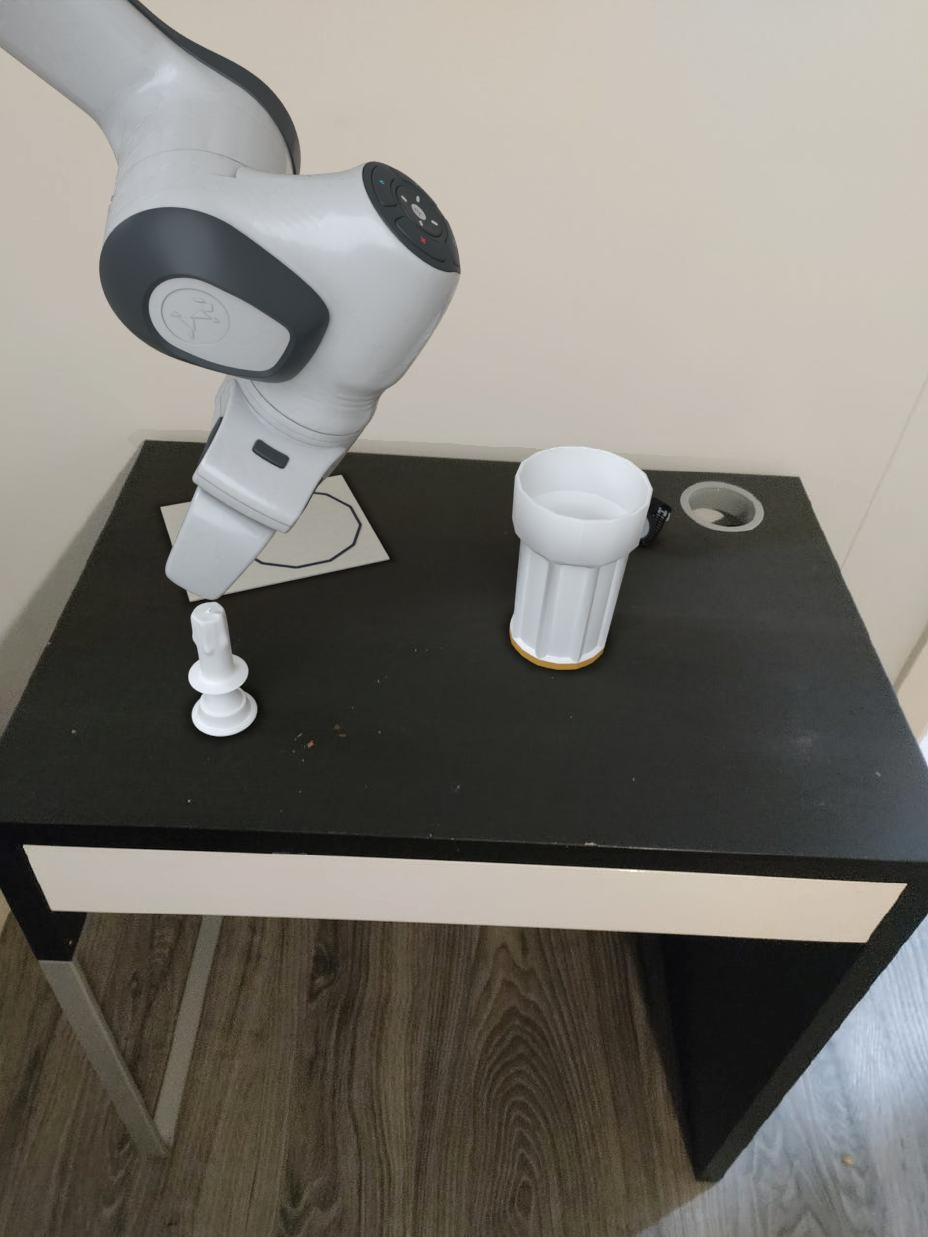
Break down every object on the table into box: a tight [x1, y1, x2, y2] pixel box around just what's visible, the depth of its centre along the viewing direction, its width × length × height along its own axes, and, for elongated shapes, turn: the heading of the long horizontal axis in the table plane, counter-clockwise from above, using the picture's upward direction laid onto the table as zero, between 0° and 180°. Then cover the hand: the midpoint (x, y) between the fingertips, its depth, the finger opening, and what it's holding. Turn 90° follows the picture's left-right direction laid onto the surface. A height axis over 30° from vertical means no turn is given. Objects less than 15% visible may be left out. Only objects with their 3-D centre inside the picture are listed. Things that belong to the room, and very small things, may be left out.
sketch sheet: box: [160, 474, 390, 603], centre depth 97 cm, size 20×16×1 cm
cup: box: [509, 445, 654, 671], centre depth 82 cm, size 11×11×17 cm
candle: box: [187, 601, 258, 737], centre depth 74 cm, size 5×5×12 cm
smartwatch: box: [638, 496, 673, 547], centre depth 98 cm, size 4×5×5 cm
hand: (210, 533), depth 68 cm, fingers open, 8 cm apart
